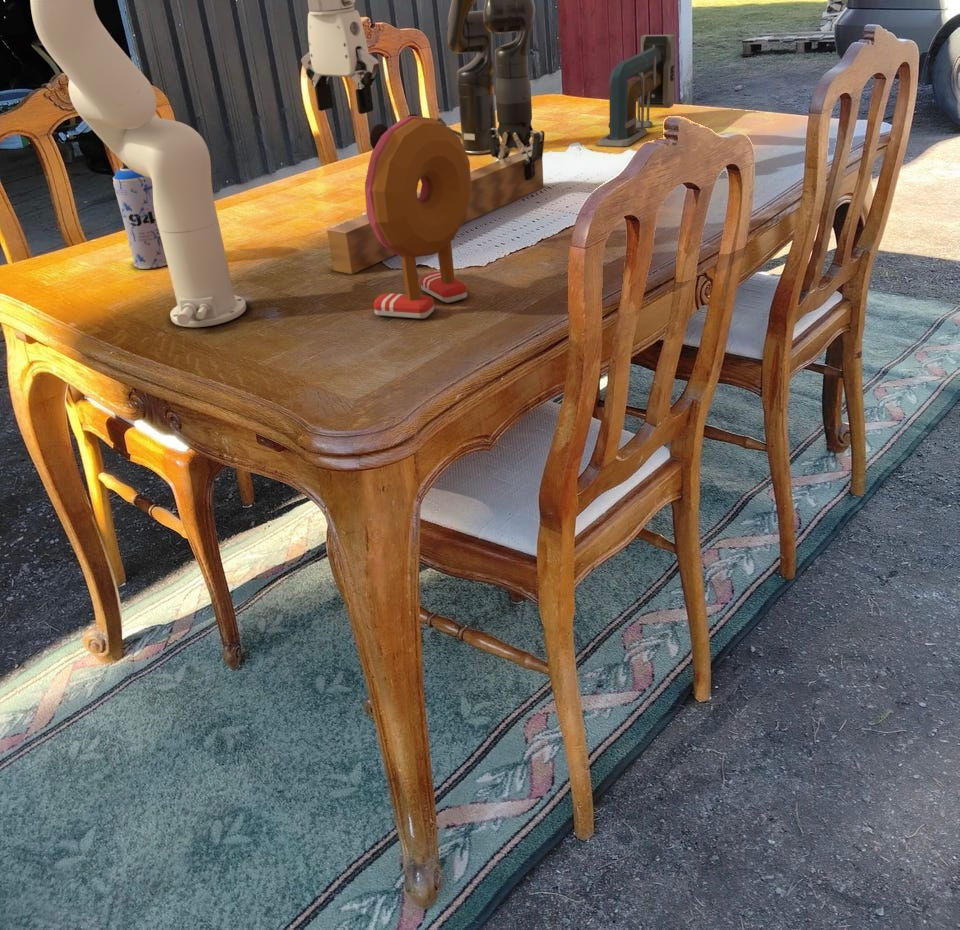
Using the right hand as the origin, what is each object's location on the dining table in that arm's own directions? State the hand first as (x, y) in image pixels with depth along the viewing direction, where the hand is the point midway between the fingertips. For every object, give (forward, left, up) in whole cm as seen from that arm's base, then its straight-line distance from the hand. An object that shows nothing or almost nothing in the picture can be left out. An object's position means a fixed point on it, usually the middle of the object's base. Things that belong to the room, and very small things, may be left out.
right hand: (517, 178), depth 214 cm
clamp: (-46, +43, -3) cm, 63 cm away
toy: (+60, -29, -3) cm, 67 cm away
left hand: (+33, -37, +24) cm, 55 cm away
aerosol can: (+17, -78, -3) cm, 80 cm away
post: (+17, -19, -3) cm, 25 cm away
